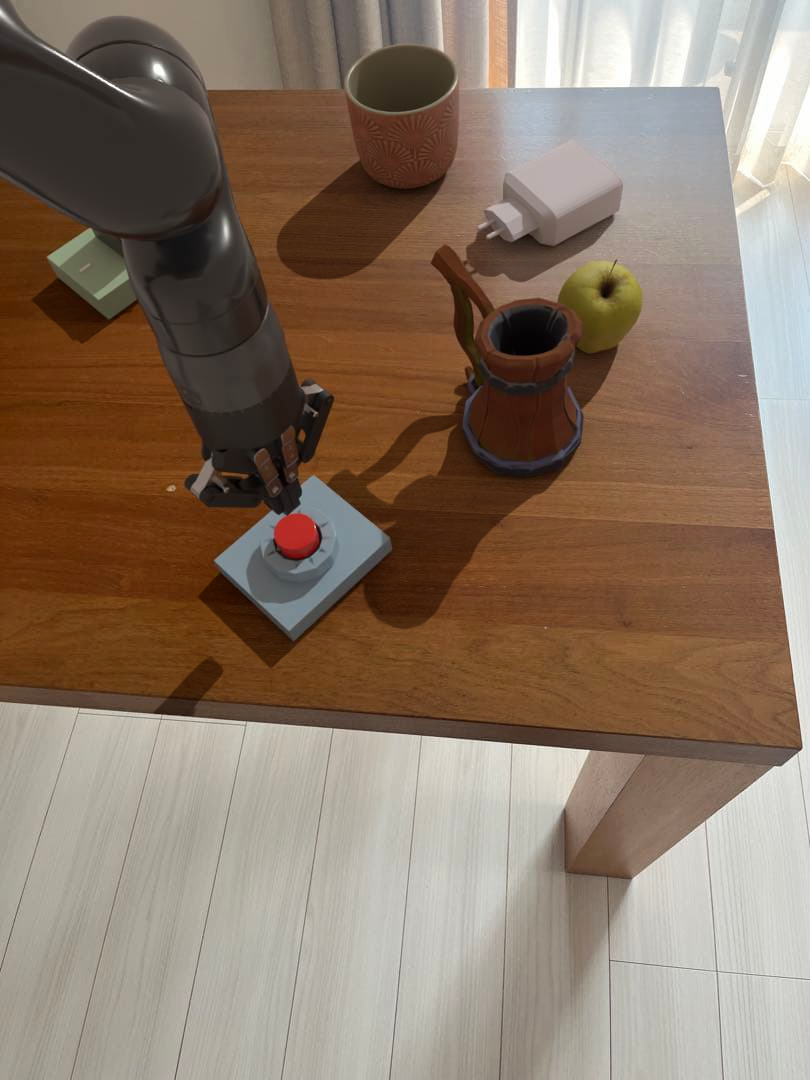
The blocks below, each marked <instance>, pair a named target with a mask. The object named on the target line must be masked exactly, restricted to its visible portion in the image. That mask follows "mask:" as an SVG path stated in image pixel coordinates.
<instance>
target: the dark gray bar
mask: <svg viewBox="0 0 810 1080" xmlns="http://www.w3.org/2000/svg"><path fill="white" fill-rule="evenodd" d="M92 230H93V229H92ZM93 232H94V234H95V236H96V237H97V238H99V239H100V240H101V241H102V242H104V243H105V244H106V245H108V246H109V247H110V248H111V249H113V250H114V251H115V252H117V253H118V254H119V255H120V256H122V257H123V258H124V255H123V248H122V242H121V238H117V237H114V236H110V235H107V234H104V233H101V232H98V231H96V230H93Z"/></svg>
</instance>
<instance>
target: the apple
mask: <svg viewBox="0 0 810 1080" xmlns="http://www.w3.org/2000/svg"><path fill="white" fill-rule="evenodd" d="M617 261H618V259H617V258H616V259H615V261H614V262H613V261H610V260H594V261H591V262H588V263H585V264H584V265H582V266H580V267H579V268H577V269H576V270H575V271H573V272H572V273H571V274H570V275H569V276H568V278H567V279H566V280H565V282H564V283H563V285H562V287H561V289H560V290H559V293H558V296H557V301H556V303H560V304H564V305H568V308H569V309H571V310H573V311H575V312H576V314H577V315H578V317H579V318H580V320H581V321H582V323H583V330H582V337H581V339H580V341H579V342H578V344H577V346H576V347H577V348H578V349H579V350H581V351H582V352H583V353H586V354H594V353H595V354H596V353H598V352H602V351H604V350H609V349H612V348H614V347H616V346H617V345H618V344H619V343H621V342H622V340H623V339H624V338H625V337H626V336H627V335H628V333H629V332H630V331H631V330H632V328H634V325H635V324H636V322H637V321H638V319H639V318H640V315H641V313H642V309H643V300H644V299H643V298H644V295H643V291H642V288H641V286H640V284H639V282H638V280H637V278H635V276H634V275H633V274H632V273H631V271H630V270H628V269H626V268H625V267H624V266H622V265H620V264H618V263H617Z"/></svg>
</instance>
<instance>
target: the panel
mask: <svg viewBox="0 0 810 1080" xmlns="http://www.w3.org/2000/svg"><path fill="white" fill-rule="evenodd" d="M46 260H47V261H48V263H49V265H50V266H51V268H52V270H53V272H54V274H55V275H56V277H57V278H58V279H59V280H60V281H62V283H64V284H65V285H66V286H68V287H69V288H70V289H71V290H72V291H73V292H75V293H76V294H77V295H78V296H79V297H81V299H83V300H84V301H86V303H88V304H89V305H90V306H92V307H93V308H94V309H95V310H96V311H97V312H99V313H100V314H101V315H102V316H103V317H105V318H106V319H107V320H111V319H112V318H114V317H115V316H117V315H118V314H119V313H120V312H122V311H123V310H125V309H127V308H128V307H129V306H130V305H131V304H133V303H135V302H136V301H138V300H137V298H136V295H135V293H134V291H133V289H132V286H131V283H130V280H129V277H128V274H127V270H126V266H125V261H124V258H123V257H122V256H120V255H119V254H118V253H117V252H115V251H114V250H113V249H111V248H110V247H109V246H108V245H106V244H105V243H104V242H102V241H101V240H100V239H99V238H97V237H96V236H95V234H94V232H93V230H92V229H91V228H89V227H88V229H86V230H84V231H83V232H81V233H80V234H78V235H77V236H75V237H74V238H72V239H71V240H69V241H68V242H66V243H65V244H63V245H62V246H61V247H59V248H58V249H56V250H55V251H53V252H52V253H50V254H49V255H47V256H46Z"/></svg>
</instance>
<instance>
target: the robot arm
mask: <svg viewBox="0 0 810 1080" xmlns="http://www.w3.org/2000/svg"><path fill="white" fill-rule="evenodd" d="M0 178H1V179H3V180H5V181H6V182H8V183H10V184H12V185H13V186H15V187H16V188H17V189H20V190H21V191H23V192H24V193H26V194H28V195H29V196H31V197H33V198H34V199H36V200H38V201H39V202H41V203H43V205H44V204H45V206H47V207H48V208H51V209H53V210H54V211H55V212H58V213H60V214H61V215H63V216H65V217H67V218H68V219H71V220H73V221H74V222H76V223H77V224H80V225H82V226H84V227H87V228H88V229H89V228H91V229H93V230H96V231H98V232H101V233H104V234H107V235H110V236H114V237H117V238H121V242H122V248H123V255H124V261H125V266H126V270H127V274H128V277H129V280H130V283H131V286H132V289H133V291H134V293H135V295H136V298H137V300H136V301H137V303H138V305H139V306H140V308H141V312H142V313H143V314H144V317H145V319H146V320H147V323H148V325H149V327H150V329H151V331H152V333H153V335H154V338H155V341H156V344H157V348H158V351H159V355H160V357H161V361H162V363H163V365H164V368H165V370H166V371H167V374H168V376H169V377H170V379H171V382H172V384H173V385H174V388H175V390H176V391H177V394H178V396H179V397H180V398H179V399H180V400H181V402H182V404H183V405H184V407H185V410H186V412H187V414H188V417H189V418H190V420H191V422H192V424H193V426H194V428H195V430H196V432H197V434H198V436H199V437H200V439H201V447H200V454H201V457H202V459H203V461H204V464H203V466H202V467H201V470H200V472H199V473H191V474H190V475H188V476H187V477H186V479H185V480H184V482H183V483H184V484H183V486H184V488H185V489H186V490H188V491H189V492H190V493H191V494H192V495H193V496H194V497H195V498H197V500H199V501H200V502H201V503H202V504H203V505H204V506H206V507H207V508H230V509H231V508H233V509H235V508H236V509H237V508H239V509H244V508H245V509H255V508H258V507H259V506H260V505H261V503H262V502H263V504H264V505H265V506H266V507H268V509H270V511H274V512H275V513H276V514H278V515H280V514H281V513H284V514H285V515H286V516H288V515H289V514H290V513H291V512H293V511H294V510H295V509H296V508H297V507H298V506H299V505H301V503H300V500H299V498H300V497H301V496H302V488H301V483H300V480H299V474H300V472H299V471H300V470H299V467H300V466H301V464H302V463H303V464H307V463H309V462H311V460H312V459H313V458H314V456H315V454H316V450H317V448H318V445H319V443H320V440H321V437H322V434H323V432H324V429H325V426H326V424H327V420H328V419H329V415H330V412H331V410H332V407H333V404H334V402H335V396H334V395H333V394H332V393H331V392H329V391H328V390H327V389H325V388H324V387H322V386H321V385H320V384H319V383H317V382H316V381H314V380H313V379H312V378H310V377H309V378H306V379H304V380H303V381H302V382H301V384H300V385H299V380H298V378H297V375H296V371H295V367H294V365H293V361H292V358H291V355H290V350H289V347H288V345H287V342H286V337H285V331H284V329H283V327H282V325H281V322H280V320H279V317H278V314H277V312H276V310H275V308H274V306H273V304H272V302H271V300H270V298H269V296H268V294H267V290H266V286H265V284H264V280H263V277H262V274H261V271H260V267H259V264H258V261H257V258H256V255H255V252H254V249H253V246H252V245H251V242H250V240H249V237H248V234H247V233H246V230H245V228H244V225H243V223H242V220H241V217H240V215H239V212H238V210H237V206H236V203H235V200H234V196H233V191H232V187H231V183H230V178H229V173H228V169H227V165H226V162H225V157H224V152H223V149H222V145H221V140H220V137H219V131H218V128H217V125H216V120H215V117H214V113H213V109H212V104H211V102H210V97H209V94H208V89H207V86H206V83H205V80H204V77H203V75H202V73H201V70H200V68H199V66H198V64H197V63H196V61H195V59H194V58H193V56H192V55H191V54H190V53H189V51H188V50H187V49H186V47H185V46H184V45H183V44H182V43H181V42H180V41H179V40H178V39H177V38H176V37H174V35H172V34H171V33H170V32H168V31H167V30H166V29H165V28H163V27H162V26H159V25H158V24H156V23H155V22H152V21H150V20H147V19H145V18H143V17H142V18H141V17H139V16H134V15H129V14H113V15H109V16H103V17H100V18H97V19H95V20H93V21H91V22H89V23H88V24H86V25H85V26H84V27H83V28H81V29H80V30H79V31H78V32H77V33H76V34H75V35H74V36H73V37H72V39H71V40H70V41H69V43H68V44H67V46H66V48H65V50H64V51H62V50H61V49H59V48H57V47H56V46H54V45H53V44H51V43H49V42H47V41H46V40H45V39H43V38H42V37H40V36H39V35H38V34H36V33H35V32H34V31H33V30H32V29H31V28H30V27H29V26H28V24H27V23H26V21H25V20H24V19H23V17H22V15H21V14H20V12H19V9H18V8H17V6H16V5H15V3H14V1H13V0H0ZM301 431H303V432H304V434H305V436H304V439H303V440H301V439H300V438H299V436H300V435H301ZM222 473H228V474H238V476H236V475H223V474H222ZM239 475H247V477H245V478H243V477H242V476H239Z"/></svg>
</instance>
